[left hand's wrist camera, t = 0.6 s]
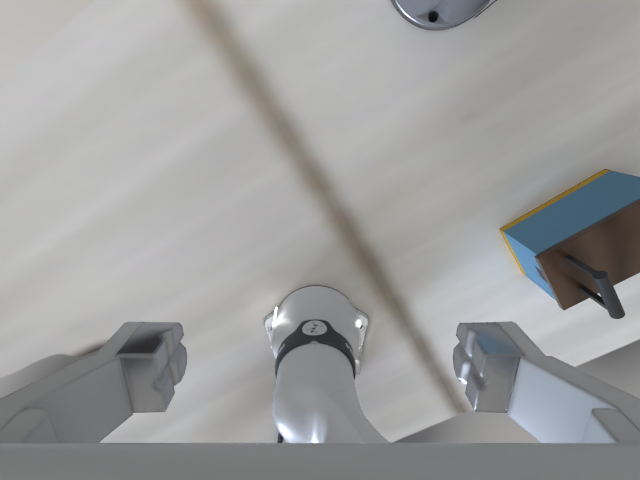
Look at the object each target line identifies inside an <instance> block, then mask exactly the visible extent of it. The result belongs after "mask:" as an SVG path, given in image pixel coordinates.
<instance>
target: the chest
mask: <svg viewBox="0 0 640 480" xmlns="http://www.w3.org/2000/svg"><path fill="white" fill-rule="evenodd" d="M638 199H640V177H636V176H632V175H627V174H623V173H618V172H614V171H611V170H606V169H604V170H602V171H601V172H599V173H597V174H595V175H594V176H592V177H590V178H588V179H587V180H585V181H583V182H581V183H580V184H578V185H576V186H574V187H573V188H571V189H569V190H567V191H566V192H564V193H562V194H560V195H559V196H557V197H555V198H553V199H552V200H550V201H548V202H546V203H545V204H543V205H541V206H539V207H537V208H536V209H534V210H532V211H530V212H529V213H527V214H525V215H523V216H522V217H520V218H518V219H516V220H515V221H513V222H511V223H509V224H508V225H506V226H504V227H502V228H501V229H500V231H501V233H502V235H503V237H504V239H505V240H506V242H507V244H508V246H509V248H510V250H511V252H512V254H513V256H514V258H515V259H516V261H517V263H518V265H519V267H520V269H521V271H522V273H523V274H524V275H526V276H527V277H528V278H529V279H531V280H532V281H533V282H534V283H536V284H537V285H538V286H539V287H540V288H542V289H543V290H544V291H545V292H547V293H548V294H549V295H550V296H551V297H553V298H554V299H555V297H554V295H553V293H552V291H551V289H550V287H549V285H548V283H547V281H546V279H545V277H544V275H543V273H542V271H541V269H540V267H539V265H538V263H537V261H536V259H535V257H534V256H535V255H537V254H539V253H541V252H543V251H544V250H546V249H548V248H550V247H552V246H554V245H556V244H557V243H559V242H561V241H563V240H565V239H567V238H568V237H570V236H572V235H574V234H576V233H578V232H579V231H581V230H583V229H585V228H587V227H589V226H591V225H592V224H594V223H596V222H598V221H600V220H602V219H603V218H605V217H607V216H609V215H611V214H613V213H614V212H616V211H618V210H620V209H622V208H624V207H625V206H627V205H629V204H631V203H633V202H635V201H637V200H638ZM555 300H556V299H555Z"/></svg>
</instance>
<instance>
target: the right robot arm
mask: <svg viewBox="0 0 640 480" xmlns="http://www.w3.org/2000/svg"><path fill="white" fill-rule="evenodd" d="M391 1H392V3H393V4H394V6H395V8H396V9H397V10H398V12H399V13H400V14H401V15H402V16H403V17H404V18H405V19H406V20H408V21H409V22H410V23H412V24H414V25H416V26H418V27H420V28H424V29H428V30H445V29H449V28H453V27H455V26H458V25H460V24H462V23H464V22H466V21H467V20H469V19H470V18H472V17H474V16H475V15H476V14H477V13H479V12H480V11H481V10H482V9H483V8H484V7H485V6H486V5H487V4H488V2H489V1H490V0H391ZM495 1H497V0H495ZM495 1H494V2H495ZM494 2H493V3H494ZM493 3H491V4H490V5H492V4H493ZM490 5H489V6H490ZM489 6H488V7H489ZM488 7H487V8H488ZM487 8H485V9H484V10H486V9H487ZM484 10H483V11H484ZM483 11H482V12H483ZM482 12H480V13H479V14H481V13H482ZM479 14H478V15H479ZM478 15H477V16H478ZM477 16H476V17H477ZM474 18H475V17H474ZM474 18H473V19H474Z"/></svg>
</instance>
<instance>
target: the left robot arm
mask: <svg viewBox="0 0 640 480" xmlns="http://www.w3.org/2000/svg"><path fill="white" fill-rule="evenodd" d="M360 325H362V326H361V327H360ZM367 325H368V317H367V316H366V315H365V314H364V313H362V312H361V311H359V310H357V309H355V308H354V307H353V305H352V304H351V303H350V301H349V300H348V299H347V298H346V297H345V296H344V295H342V294H341V293H340V292H338V291H336V290H334V289H331V288H328V287H323V286H309V287H305V288H301V289H299V290H297V291H295V292H293V293H291V294H290V295H289V296H288V297H287V298H286V299H285V300H284V301H283V302H282V304H281V305H280V307H279V308H278V309H277V307H276V308H275V311H274V312H273V313H271V314H270V315H268V316H267V317H266V318H265V327H266V330H267V334H268V337H269V340H270V347H271V348H272V349H273V353H274V355H275V358H276V361H275V367H276V368H275V376H276V385H275V391H274V397H273V404H272V415H273V420H274V423H275V425H276V427H277V429H278V431H279V435H278V443H99V442H100V441H101V440H102V439H104V438H105V437H106V436H107V435H109V434H110V433H111V432H112V431H113V430H115V429H116V428H117V427H118V426H119V425H121V424H122V423H123V422H124V421H126V420H127V419H128V418H129V417H130V416H132V415H133V413H143V412H165V411H166V409H167V407H168V405H169V403H170V401H171V399H172V397H173V395H174V394H175V392H174V386H175V385H176V384H177V383H179V382H180V381H181V380H182V378H183V376H184V374H185V369H186V365H187V352H186V348H185V347H184V346H183V345H182V344H181V343H180V341H181V339H182V338H183V336H184V333H183V328H182V325H181V324H180V323H178V322H127V323H124V324H123V325H122V326H121V327H120V329H119V330H118V331H117V332H116V333H115V334H114V335H113V336H112V337H111V338H110V339H109V340H108V342H107V343H106V344H105V345H104V346H103V347H102V348H101V349H100V350H99V351H98V352H97V353H96V355H95V356H88V357H86V358H84V359H82V360H80V361H77V362H75V363H73V364H71V365H69V366H67V367H65V368H63V369H61V370H59V371H57V372H55V373H53V374H50V375H48V376H46V377H44V378H42V379H40V380H38V381H36V382H34V383H32V384H30V385H28V386H25V387H23V388H21V389H19V390H17V391H15V392H13V393H11V394H9V395H7V396H5V397H3V398H0V480H640V399H639V398H637V397H635V396H633V395H631V394H629V393H627V392H625V391H623V390H621V389H619V388H616V387H614V386H612V385H610V384H608V383H606V382H604V381H602V380H600V379H598V378H596V377H594V376H592V375H589V374H587V373H585V372H583V371H581V370H579V369H577V368H575V367H573V366H571V365H569V364H567V363H565V362H563V361H560V360H558V359H556V358H554V357H552V356H545V355H544V353H543V352H542V351H541V350H540V349H539V348H538V347H537V346H536V345H535V344H534V343H533V342H532V340H531V339H530V338H529V337H528V336H527V335H526V334H525V333H524V332H523V331H522V330H521V329H520V327H519V326H518V325H517V324H516V323H514V322H486V323H459V325H458V328H457V333H456V336H457V338H458V339H459V341H460V343H459V344H458V345H457V346H456V347H455V348H454V353H453V364H454V370H455V373H456V376H457V378H458V380H459V381H460V382H461V383H463V384H464V385H465V386H466V392H465V394H466V395H467V397H468V399H469V401H470V403H471V405H472V407H473V409H474V411H475V412H496V413H507V415H509V416H510V417H511V418H512V419H513V420H515V421H516V422H517V423H518V424H519V425H521V426H522V427H523V428H524V429H526V430H527V431H528V432H529V433H530V434H532V435H533V436H534V437H535V438H536V439H538V440H539V441H540V442H541V443H390V442H389V441H388V440H387V439H385V438H384V437H383V436H382V435H381V434H380V433H379V432H378V431H377V430H376V429H375V428H374V427H373V426H372V425H371V423H370V422H369V421H368V420H367V418H366V417H365V415H364V414H363V412H362V410H361V408H360V405H359V402H358V398H357V393H356V388H355V383H354V379H355V374H359V373H360V370H361V361H359V358H361V356H362V350H361V348H362V344H363V341H364V337H365V333H366V329H367ZM271 327H272V328H271ZM283 438H284V439H285V441H286V442H287V443H282V441H283Z"/></svg>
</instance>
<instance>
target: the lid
mask: <svg viewBox="0 0 640 480" xmlns="http://www.w3.org/2000/svg"><path fill="white" fill-rule="evenodd" d="M534 257H535V259H536V261H537V263H538V265H539V267H540V269H541V271H542V273H543V275H544V277H545V279H546V281H547V283H548V285H549V287H550V289H551V291H552V293H553V295H554V297H555V299H556V301H557V303H558V305H559V307H560V308H561V309H563V310H566V309H568V308H570V307H572V306H574V305H576V304H578V303H580V302H582V301H584V300H586V299H588V298H591V299H593V300H594V301H595V302H597V303H598V304H600V305H601V306H603V307H604V308H605V309H607V310H608V312H609V315H610V316H611V317H612V318H614V319H620V318H623V317H624V316H625V312H624V310H623V308H622V305H621V303H620V301H619V298H618V296H617V294H616V292H615V289H614V287H613V286H614V285H616V284H618V283H620V282H622V281H624V280H626V279H628V278H630V277H632V276H634V275H636V274H637V273H639V272H640V199H638V200H637V201H635V202H633V203H631V204H629V205H627V206H625V207H624V208H622V209H620V210H618V211H616V212H614V213H613V214H611V215H609V216H607V217H605V218H603V219H602V220H600V221H598V222H596V223H594V224H592V225H591V226H589V227H587V228H585V229H583V230H581V231H579V232H578V233H576V234H574V235H572V236H570V237H568V238H567V239H565V240H563V241H561V242H559V243H557V244H556V245H554V246H552V247H550V248H548V249H546V250H544V251H543V252H541V253H539V254H537V255H535V256H534ZM598 293H600V295H601V297H600V296H599V295H597V294H598Z"/></svg>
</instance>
